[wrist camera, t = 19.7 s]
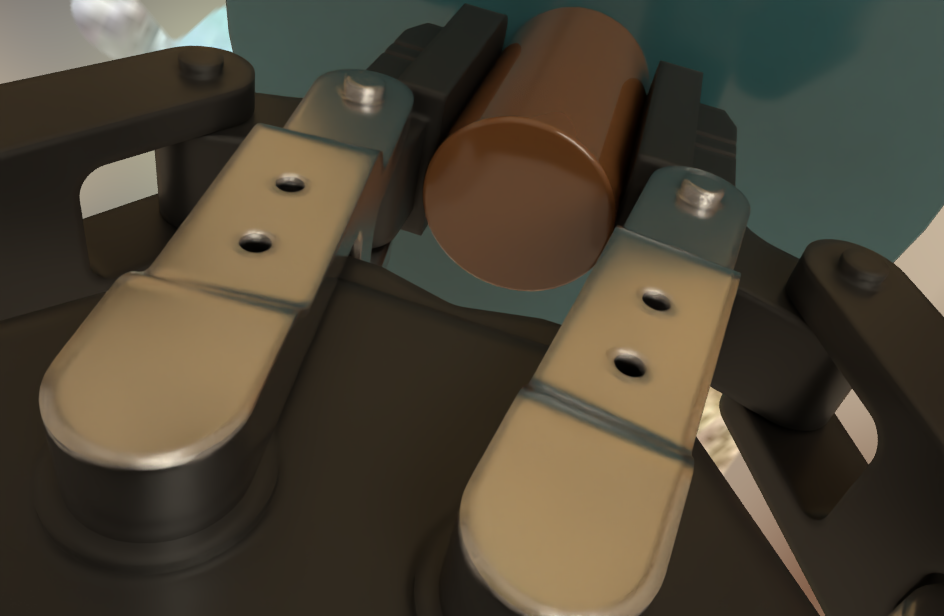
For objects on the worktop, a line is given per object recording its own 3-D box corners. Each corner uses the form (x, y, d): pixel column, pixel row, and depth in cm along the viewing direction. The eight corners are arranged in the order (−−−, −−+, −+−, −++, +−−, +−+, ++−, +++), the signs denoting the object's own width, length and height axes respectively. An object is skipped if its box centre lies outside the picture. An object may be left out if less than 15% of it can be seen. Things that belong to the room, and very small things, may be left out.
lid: (164, -361, 13) (-144, -386, 8) (1159, -507, 9) (1530, -683, 5) (326, 310, 20) (211, 479, 16) (895, 367, 17) (944, 602, 13)
